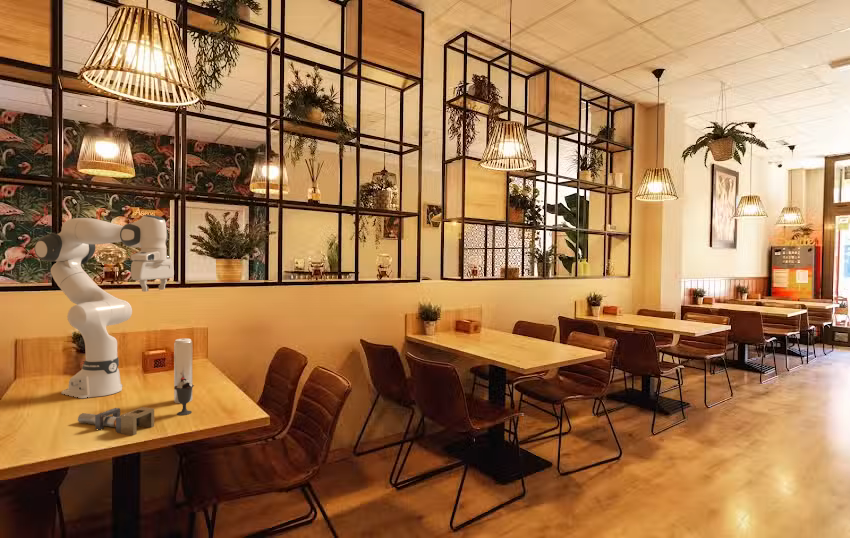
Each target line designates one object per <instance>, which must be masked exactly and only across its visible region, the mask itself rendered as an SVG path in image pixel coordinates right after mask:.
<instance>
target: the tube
mask: <svg viewBox="0 0 850 538" xmlns="http://www.w3.org/2000/svg"><path fill="white" fill-rule="evenodd" d="M95 415H96V414H94V413H87V412H86V413H83V412H82V413H80V414H79V415H78V418H77V422H78V423H79V424H86V423H88V424H87V425H95ZM103 427H112V428H116V417H112V415H109V416H106V417H103Z"/></svg>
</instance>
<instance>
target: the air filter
mask: <svg viewBox="0 0 850 538" xmlns="http://www.w3.org/2000/svg"><path fill="white" fill-rule="evenodd" d="M173 345H174V346H173V347H174V348H173V351H174V353H173V359H174V360H173V361H174V362H173V363H174V365H173V366H174V367H173V368H174V369H173V371H174V372H173V373H174V374H173V377H174V378H173V379H174V380H173V382H174V383H173V384H174V385H173V389H174V387H175V386H178V384H179V382H180V381H181V378H182V375H183V378H184V379H187V380H188V381H189V383H190V384H192V385H193V340H192V339H191V338H177V339H175V340H174V343H173ZM180 373H182V374H180ZM173 396H174V398H173V401H174V403H175V404H181V403H180V402H179V401H178V396H177V391H176V389H174V393H173ZM192 401H193V392H192V393H191V399H190V401H189V402H188V403H191V402H192Z"/></svg>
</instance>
